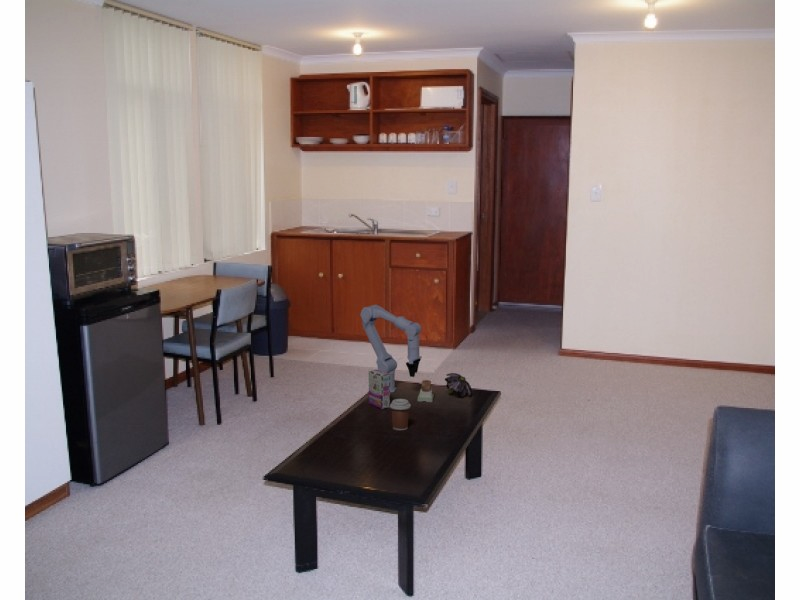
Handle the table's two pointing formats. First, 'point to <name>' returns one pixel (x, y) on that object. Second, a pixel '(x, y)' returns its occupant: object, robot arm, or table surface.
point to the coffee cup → (400, 413)
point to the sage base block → (425, 398)
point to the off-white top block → (425, 393)
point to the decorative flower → (458, 384)
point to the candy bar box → (379, 389)
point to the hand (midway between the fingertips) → (413, 374)
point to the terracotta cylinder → (426, 385)
